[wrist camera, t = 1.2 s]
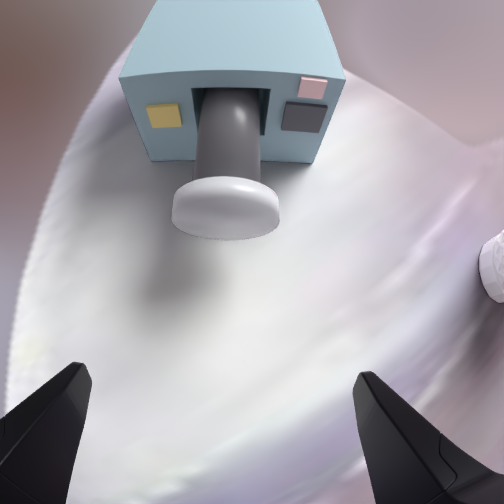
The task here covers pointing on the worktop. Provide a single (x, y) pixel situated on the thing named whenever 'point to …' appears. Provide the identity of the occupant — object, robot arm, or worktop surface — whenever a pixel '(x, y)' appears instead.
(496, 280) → the white cup
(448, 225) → the worktop surface
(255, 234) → the plug
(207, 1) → the socket block
